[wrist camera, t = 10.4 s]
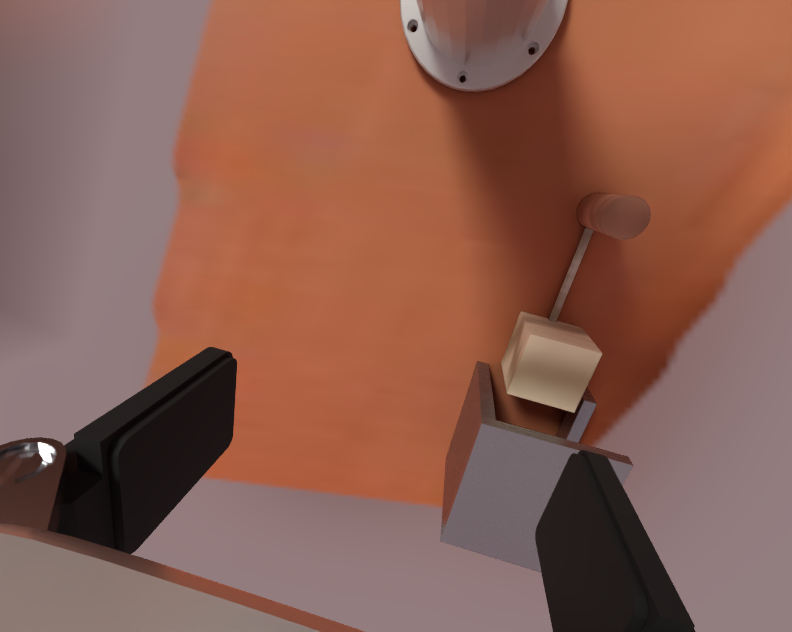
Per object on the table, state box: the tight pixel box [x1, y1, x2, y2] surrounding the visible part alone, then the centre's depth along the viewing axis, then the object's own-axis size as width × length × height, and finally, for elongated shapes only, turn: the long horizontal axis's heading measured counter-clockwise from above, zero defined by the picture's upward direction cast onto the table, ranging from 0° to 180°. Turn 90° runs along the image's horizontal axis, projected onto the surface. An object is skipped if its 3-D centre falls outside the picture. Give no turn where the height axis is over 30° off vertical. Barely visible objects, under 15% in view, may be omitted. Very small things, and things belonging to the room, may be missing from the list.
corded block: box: [501, 193, 651, 413], centre depth 33 cm, size 18×6×7 cm, turn 167°
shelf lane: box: [440, 361, 633, 573], centre depth 36 cm, size 13×12×11 cm
